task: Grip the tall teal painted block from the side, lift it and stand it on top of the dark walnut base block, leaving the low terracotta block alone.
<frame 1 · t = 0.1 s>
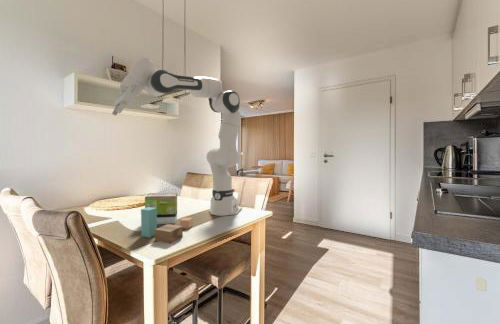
hand: (116, 113, 109), 54 cm above the table, tool tilted 30°, fingers open, 8 cm apart
walnut base block: (169, 239, 105), on the table
tea box: (162, 222, 129), on the table
terracotta block: (186, 227, 121), on the table
teal block: (149, 235, 109), on the table
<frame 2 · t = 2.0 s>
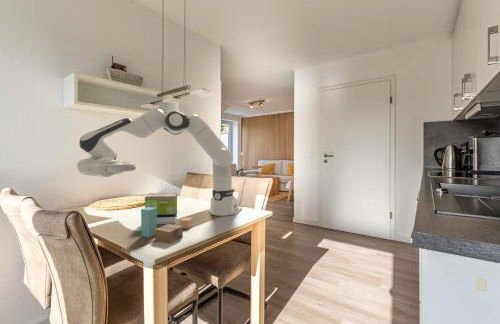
hand: (126, 168, 112), 29 cm above the table, tool horizontal, fingers open, 8 cm apart
nothing on the table moved.
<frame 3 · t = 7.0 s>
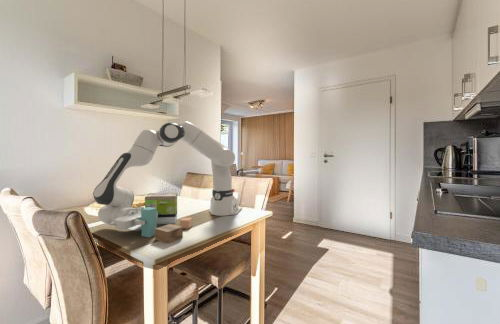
hand: (150, 220, 108), 7 cm above the table, tool horizontal, fingers closed on teal block, 4 cm apart
teal block: (149, 235, 109), on the table, touching gripper
everything else where it was.
when the fingers open (13 cm above the table, at t = 10.7 s): teal block drops 1 cm, resting on walnut base block.
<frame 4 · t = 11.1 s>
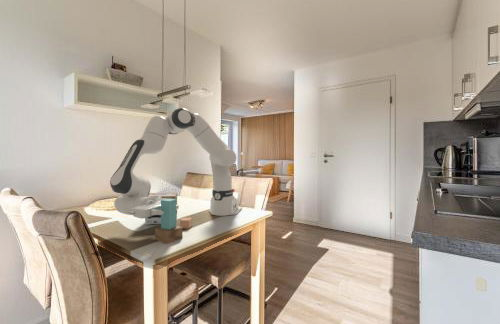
hand: (170, 209, 104), 13 cm above the table, tool horizontal, fingers open, 8 cm apart
walnut base block: (169, 239, 105), on the table, touching teal block
teal block: (168, 227, 105), point 5 cm above the table, touching walnut base block
everything else where it was.
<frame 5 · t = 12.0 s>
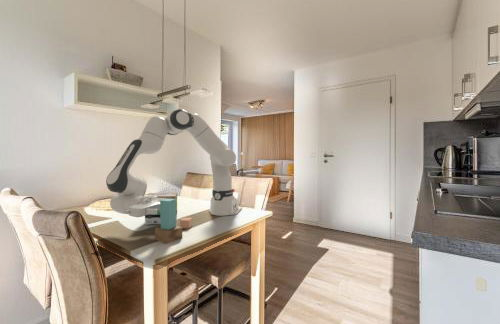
hand: (165, 209, 105), 13 cm above the table, tool horizontal, fingers open, 8 cm apart
nothing on the table moved.
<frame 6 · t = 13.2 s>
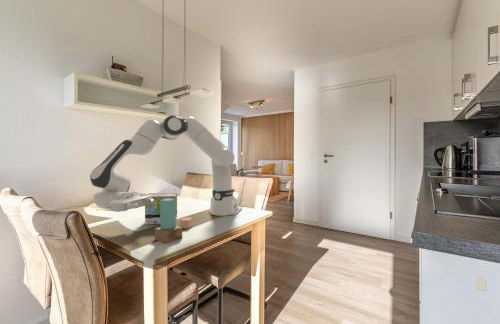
hand: (145, 203, 109), 14 cm above the table, tool horizontal, fingers open, 8 cm apart
nothing on the table moved.
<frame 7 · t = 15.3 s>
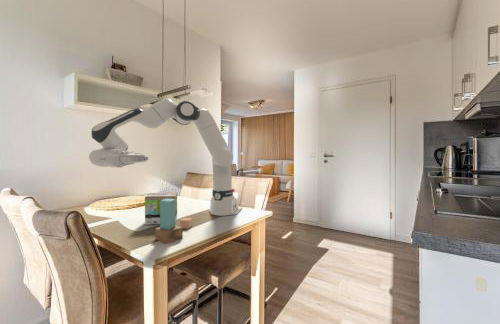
hand: (139, 158, 112), 34 cm above the table, tool horizontal, fingers open, 8 cm apart
walnut base block: (169, 239, 105), on the table
teal block: (167, 227, 105), point 5 cm above the table
everything else where it was.
at the end: teal block 0.4 cm off-centre on the walnut base block, point 5.1 cm above the walnut base block's base; teal block tilted 2°; the gripper is holding nothing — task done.
